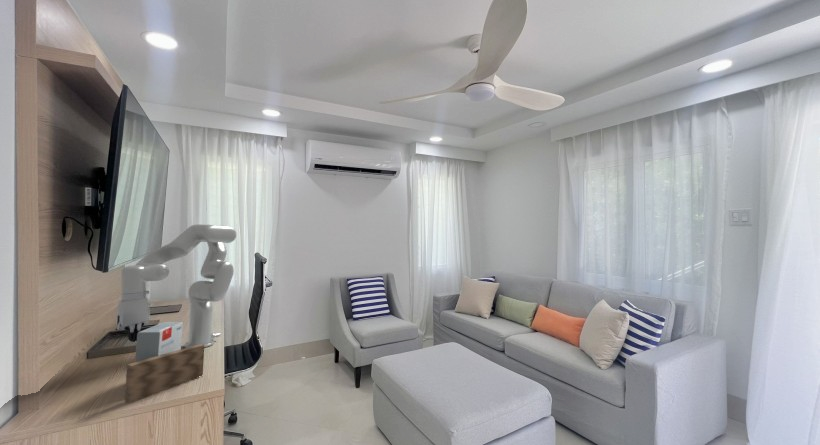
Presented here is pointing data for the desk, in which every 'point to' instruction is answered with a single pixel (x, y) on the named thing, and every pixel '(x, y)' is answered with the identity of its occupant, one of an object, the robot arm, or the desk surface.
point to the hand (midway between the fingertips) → (133, 340)
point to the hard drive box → (158, 340)
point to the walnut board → (163, 372)
